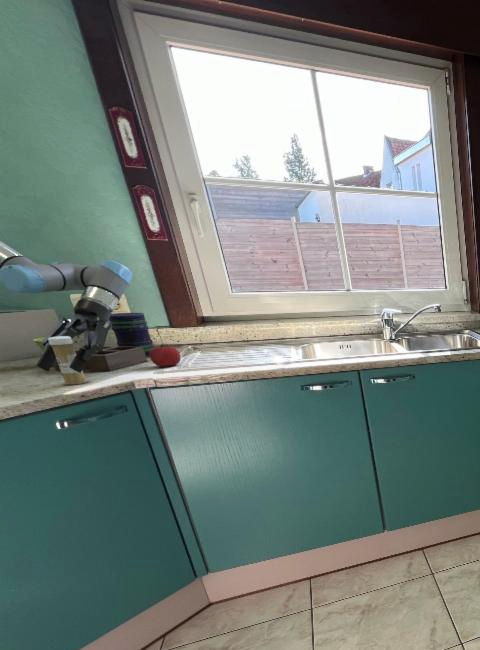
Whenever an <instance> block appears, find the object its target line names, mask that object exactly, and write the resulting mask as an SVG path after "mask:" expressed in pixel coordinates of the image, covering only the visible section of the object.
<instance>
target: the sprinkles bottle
mask: <svg viewBox="0 0 480 650" xmlns="http://www.w3.org/2000/svg"><path fill="white" fill-rule="evenodd" d="M48 340H49V343H50V345H51V346H52V348H53V350H54V353H55V356H56V359H57V362H58V365H59V367H60V370H61V371H60V372H61V375H62V377H63V380H64V384H66V385H69V386H70V385H80V384H84V383H86V382H87V379H86V377H85V374H84V371H83V370H82V372H77V371H75V370H73V369H71V368H69V366H70V365H71V363H72V361H73V360H74V358H75V356H76V352H75V350H76V349H75V347H74V341H73V342H72V339H71V337H69V336H57V337H50V338H48ZM72 343H73V344H72Z"/></svg>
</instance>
